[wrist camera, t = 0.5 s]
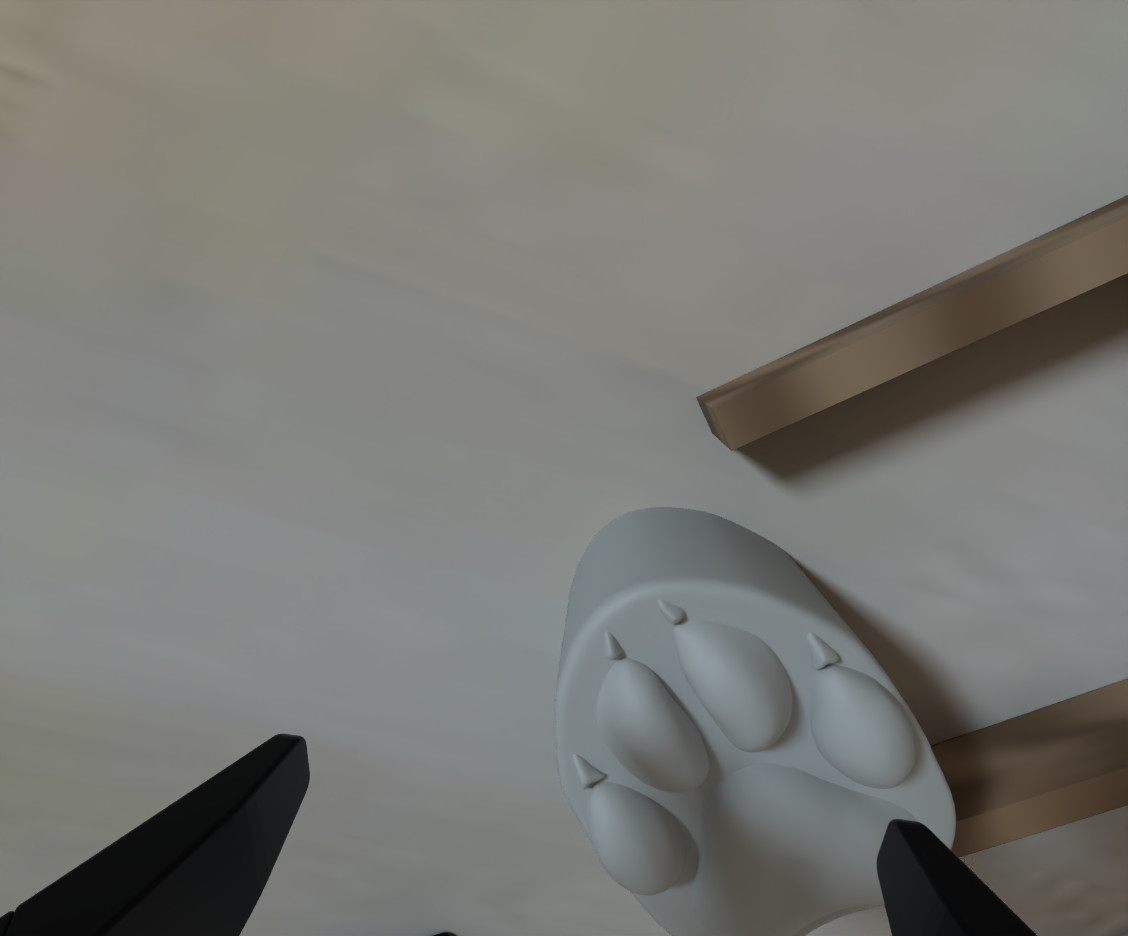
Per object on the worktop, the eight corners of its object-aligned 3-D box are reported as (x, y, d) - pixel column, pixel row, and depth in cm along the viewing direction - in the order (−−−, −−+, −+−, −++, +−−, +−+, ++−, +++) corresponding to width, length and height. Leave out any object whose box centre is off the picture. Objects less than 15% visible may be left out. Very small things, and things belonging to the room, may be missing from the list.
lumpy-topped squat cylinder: (671, 815, 26) (702, 1043, 18) (507, 582, 24) (454, 714, 16) (889, 710, 24) (1040, 909, 16) (730, 450, 22) (805, 518, 14)
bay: (875, 797, 25) (917, 870, 22) (696, 397, 22) (712, 408, 19) (1324, 646, 22) (1454, 703, 19) (1194, 163, 19) (1321, 126, 16)
